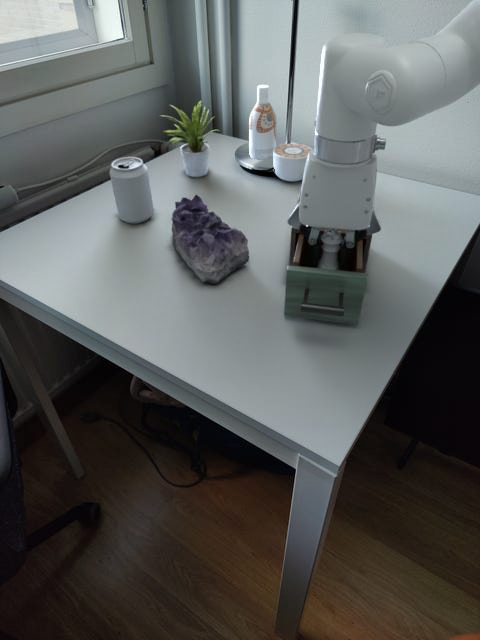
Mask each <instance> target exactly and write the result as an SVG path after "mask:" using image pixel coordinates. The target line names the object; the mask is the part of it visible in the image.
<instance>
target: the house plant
mask: <svg viewBox="0 0 480 640" xmlns="http://www.w3.org/2000/svg"><path fill="white" fill-rule="evenodd" d="M202 105H203V103H202V100H199V101H198V102H197V105H196V104H195V105H194V107H193V110H192V113H191V119H190V117H189V116H188V115H187V114H186V113H185V111H183V110H182V109H179V108H178V107H176V106H174V105H172V104H170V107H172V108H174V109H175V110H176V112H177V114H178V115H179V117H180V119H181V120H182V121H180V120H178V119H176V118H175V117H173V116H170V115H165V118H166V117H167V118H169V120H171V121H173V122H174V123H173V125H174V126H175V127H176V128H177V129H168V130H167V129H166V130H163V132H164V133H169V134H167V136H171V134H172V136H173V137H172V138H171V139H170V140H169V141H168V143H170V142H172V143H171V144H172V145H171V146H173V145H174V144H176V143H178V142H179V141H182V143H183V145H181V146H180V153H181V158H182V162H183V165H184V168H185V173H186V175H187V176H188V177H193V178H200V177H203V176H206V175H207V174H208V168H209V157H210V148H211V147H210V145H209V144H208V141H204V140H205V138H206V137H207V136H208V135H209V134H210V133H212V132H216V131H217V132H218V131H219V132H220V130H219V129H212V130H210V131H208V132H207V133H206V134H205V135H204V133H205V130H206V128H207V127H208V126H209V124H210V123H211V122H212V120H213V119H214V118H215V117H216V116H217V114H216V115H215V116H213V117H212V118H210V119H209V120H208V115H209V113H210V109H208V110H207V112H206V106H204V107H203V110H202V113H201V112H200V111H201V107H202ZM200 113H201V117H200ZM160 117H164V115H162V114H161V115H160ZM199 119H200V120H199ZM207 120H208V121H207ZM176 122H178V124H179V125H178V124H177V123H176ZM206 122H207V123H206ZM183 129H184V130H185V131H184V130H183ZM203 135H204V137H203ZM177 136H180V137H177ZM182 137H183V138H182ZM183 141H184V142H183Z"/></svg>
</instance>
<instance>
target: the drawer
mask: <svg viewBox="0 0 480 640" xmlns="http://www.w3.org/2000/svg"><path fill="white" fill-rule="evenodd" d="M321 236H322V235H320V237H321ZM342 238H343V239H344V237H342ZM322 244H323V241H322V240H321V241H320V250H319V259H318V261H319V260H320V258H321V254H322V248H321V246H322ZM339 246H340V249H339V251H338V262H340V254H341V247H342V242H341V243H340V244H339ZM362 251H363V239H362V240H361V241H359V242H358V243H356V244H355V245H354V247H353V248H352V249H351V255H350V261H349V263H345V265H344V270H342V271H340V270H330V269H320V268H313V260H311V259H309V254H310V244H309V241H308V239H307V238H306V237H305V236H304V235H303V234H302V233H299V238H298V243H297V247H296V252H295V257H294V262H293V266H291V265H289V264H288V265H287V267H286V276H285V290H284V291H285V293H284V308H283V310H284V311H283V316H284V317H293V318H302V319H309V320H318V321H325V322H326V321H327V322H334V323H342V324H350V325H359V321H360V317H361V312H362V307H363V302H364V297H365V292H366V287H367V283H368V273H367V272H365V273H362Z"/></svg>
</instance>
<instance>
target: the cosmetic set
mask: <svg viewBox="0 0 480 640" xmlns="http://www.w3.org/2000/svg"><path fill="white" fill-rule="evenodd" d="M248 119H249V121H248V128H249V129H248V131H249V132H248V140H249V141H248V149H249V151H248V153H249V155H250V157H251V158H253V159H257V160H266V159H271V158H273V167H274V169H275V172H274V174H275V175H276V176H277V177H278V178H279V179H281V180H282V181H285V182H298V181H301V180H302V181H303V174H304V168H305V164H306V160H307V156H308V153H309V151H310V150H312V149H313V148H312V147H310V146H308V145H306V144H302V143H294V142H293V143H283V144H280V145H277V115H276V111H275V109H274V108H273V106H272V105H271V103H270V86H269V85H267V84H259V85H258V86H257V88H256V102H255V105H254V107H253V108H252V110H251V112H250V115H249V118H248ZM313 124H314V131H315V130H316V120H314V123H313ZM249 155H248V156H249ZM274 169H273V170H274Z"/></svg>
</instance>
